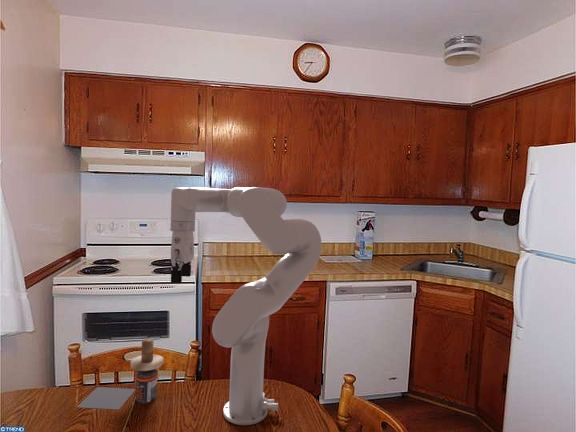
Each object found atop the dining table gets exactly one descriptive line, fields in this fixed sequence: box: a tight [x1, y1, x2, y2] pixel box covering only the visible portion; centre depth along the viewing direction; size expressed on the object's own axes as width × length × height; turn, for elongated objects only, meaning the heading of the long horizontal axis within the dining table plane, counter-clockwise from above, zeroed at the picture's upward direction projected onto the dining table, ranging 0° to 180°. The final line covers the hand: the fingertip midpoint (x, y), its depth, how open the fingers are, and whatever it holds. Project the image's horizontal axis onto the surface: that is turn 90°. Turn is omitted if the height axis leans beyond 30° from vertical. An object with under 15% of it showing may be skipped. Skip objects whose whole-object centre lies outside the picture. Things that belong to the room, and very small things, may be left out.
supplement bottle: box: [134, 368, 158, 404], centre depth 108 cm, size 6×6×11 cm
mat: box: [76, 386, 136, 411], centre depth 108 cm, size 12×11×1 cm
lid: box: [130, 338, 164, 372], centre depth 108 cm, size 9×9×7 cm
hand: (181, 279), depth 118 cm, fingers open, 9 cm apart
